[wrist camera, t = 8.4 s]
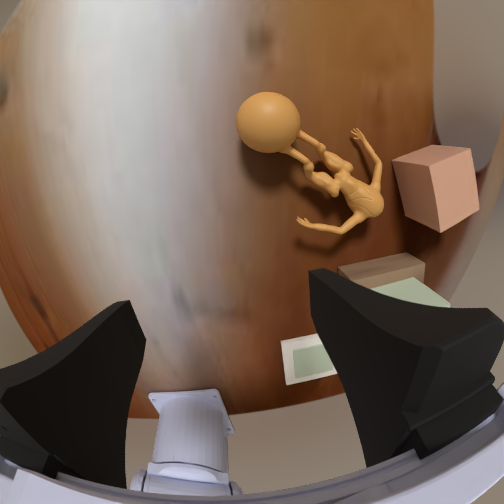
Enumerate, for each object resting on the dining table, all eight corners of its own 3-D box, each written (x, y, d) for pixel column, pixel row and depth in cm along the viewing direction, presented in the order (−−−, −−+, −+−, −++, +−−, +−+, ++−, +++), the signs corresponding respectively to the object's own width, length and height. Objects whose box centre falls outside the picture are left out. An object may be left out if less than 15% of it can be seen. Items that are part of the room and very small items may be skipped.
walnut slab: (401, 317, 24) (416, 332, 21) (339, 335, 24) (350, 354, 21) (406, 252, 22) (425, 263, 19) (337, 266, 22) (351, 280, 19)
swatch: (340, 369, 26) (341, 373, 26) (285, 382, 26) (286, 386, 26) (342, 327, 24) (344, 331, 24) (280, 341, 24) (281, 345, 24)
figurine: (195, 156, 16) (309, 239, 23) (233, 160, 11) (361, 267, 18) (265, 65, 16) (355, 163, 23) (321, 45, 11) (410, 174, 18)
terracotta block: (442, 196, 20) (479, 209, 16) (404, 215, 21) (440, 232, 16) (431, 144, 19) (470, 148, 14) (390, 160, 19) (428, 166, 14)
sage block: (413, 277, 19) (450, 303, 15) (408, 327, 21) (437, 358, 16) (361, 291, 19) (393, 325, 15) (359, 343, 21) (384, 380, 16)
